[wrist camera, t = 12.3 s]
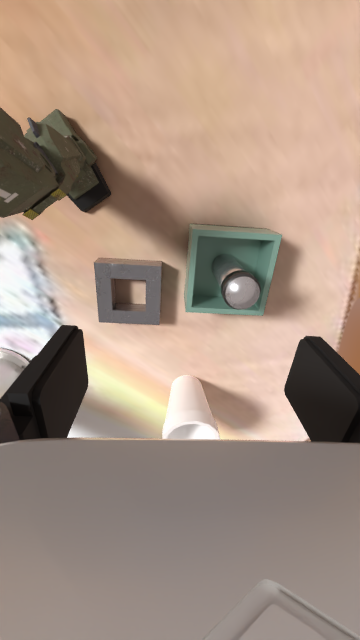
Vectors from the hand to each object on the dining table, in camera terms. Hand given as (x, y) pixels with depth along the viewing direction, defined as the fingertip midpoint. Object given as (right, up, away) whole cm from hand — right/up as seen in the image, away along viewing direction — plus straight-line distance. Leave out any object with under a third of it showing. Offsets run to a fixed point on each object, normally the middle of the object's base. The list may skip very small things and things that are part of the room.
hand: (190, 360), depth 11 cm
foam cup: (+1, -12, +43) cm, 44 cm away
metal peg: (+7, +10, +30) cm, 33 cm away
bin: (+7, +11, +31) cm, 33 cm away
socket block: (-9, +7, +32) cm, 34 cm away
